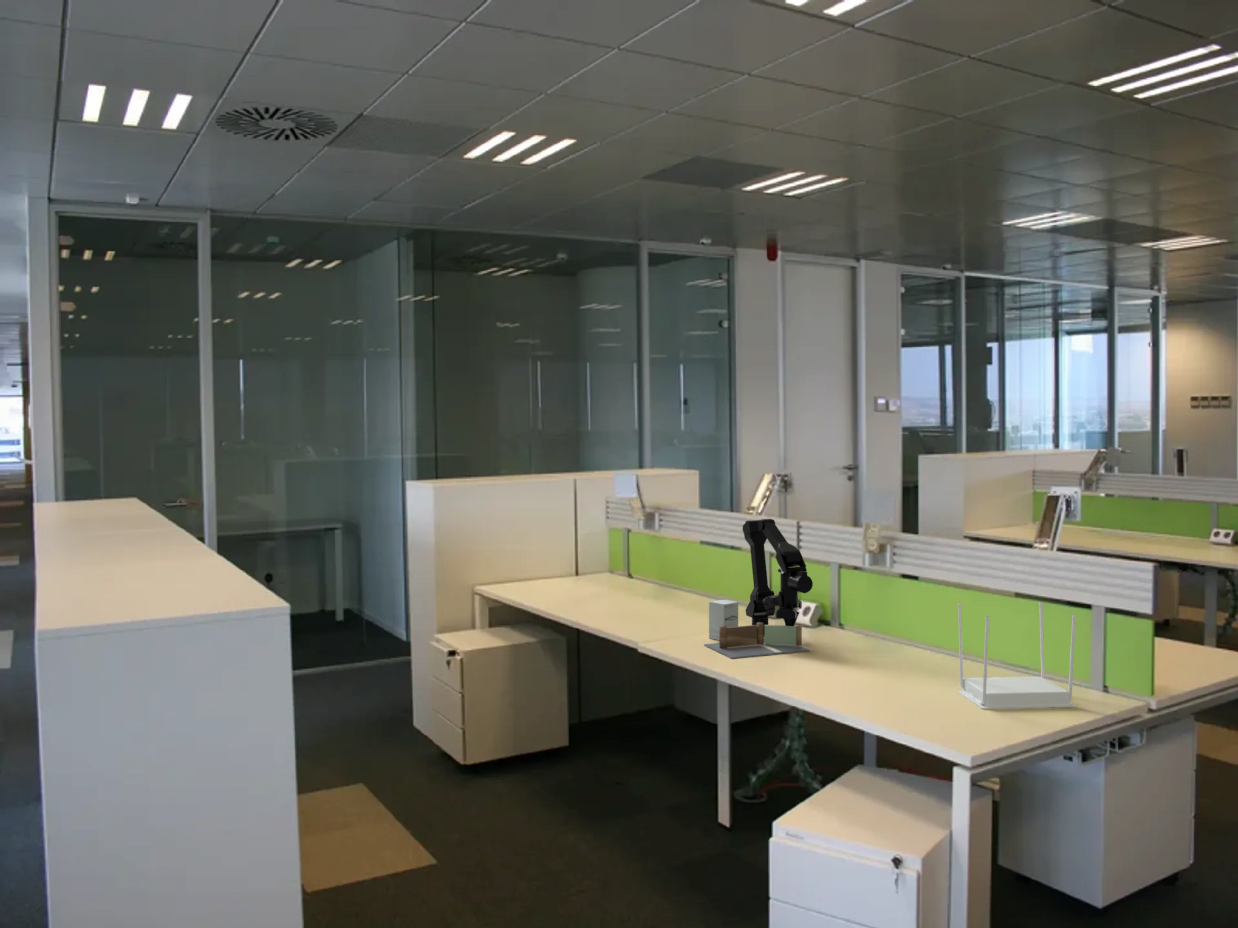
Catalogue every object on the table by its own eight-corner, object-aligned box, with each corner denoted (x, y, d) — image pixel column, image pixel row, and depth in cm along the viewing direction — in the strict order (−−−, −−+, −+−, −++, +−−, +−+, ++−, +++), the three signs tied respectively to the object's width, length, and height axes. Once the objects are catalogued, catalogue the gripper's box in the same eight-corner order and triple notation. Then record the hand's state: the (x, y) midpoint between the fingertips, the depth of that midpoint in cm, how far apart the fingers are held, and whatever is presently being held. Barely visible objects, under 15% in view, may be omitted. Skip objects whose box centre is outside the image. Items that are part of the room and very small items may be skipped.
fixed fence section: (718, 647, 334) (718, 625, 334) (761, 643, 340) (761, 622, 340) (721, 648, 332) (721, 627, 332) (765, 644, 338) (765, 623, 337)
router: (1077, 708, 264) (1078, 615, 263) (982, 710, 262) (983, 617, 261) (1042, 688, 283) (1043, 601, 282) (953, 690, 282) (954, 603, 280)
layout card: (704, 645, 339) (704, 643, 339) (779, 638, 349) (779, 636, 349) (731, 658, 320) (731, 656, 320) (809, 651, 330) (809, 649, 330)
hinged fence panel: (765, 642, 339) (765, 624, 339) (801, 644, 336) (801, 625, 336) (764, 643, 337) (764, 625, 337) (801, 645, 334) (801, 627, 334)
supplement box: (723, 641, 345) (723, 604, 345) (708, 638, 351) (708, 601, 350) (739, 638, 350) (739, 601, 349) (723, 634, 356) (723, 598, 355)
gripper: (768, 581, 349) (769, 626, 350) (760, 591, 331) (760, 639, 332) (802, 582, 345) (802, 628, 347) (795, 593, 328) (795, 641, 329)
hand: (789, 634), depth 338 cm, fingers closed
